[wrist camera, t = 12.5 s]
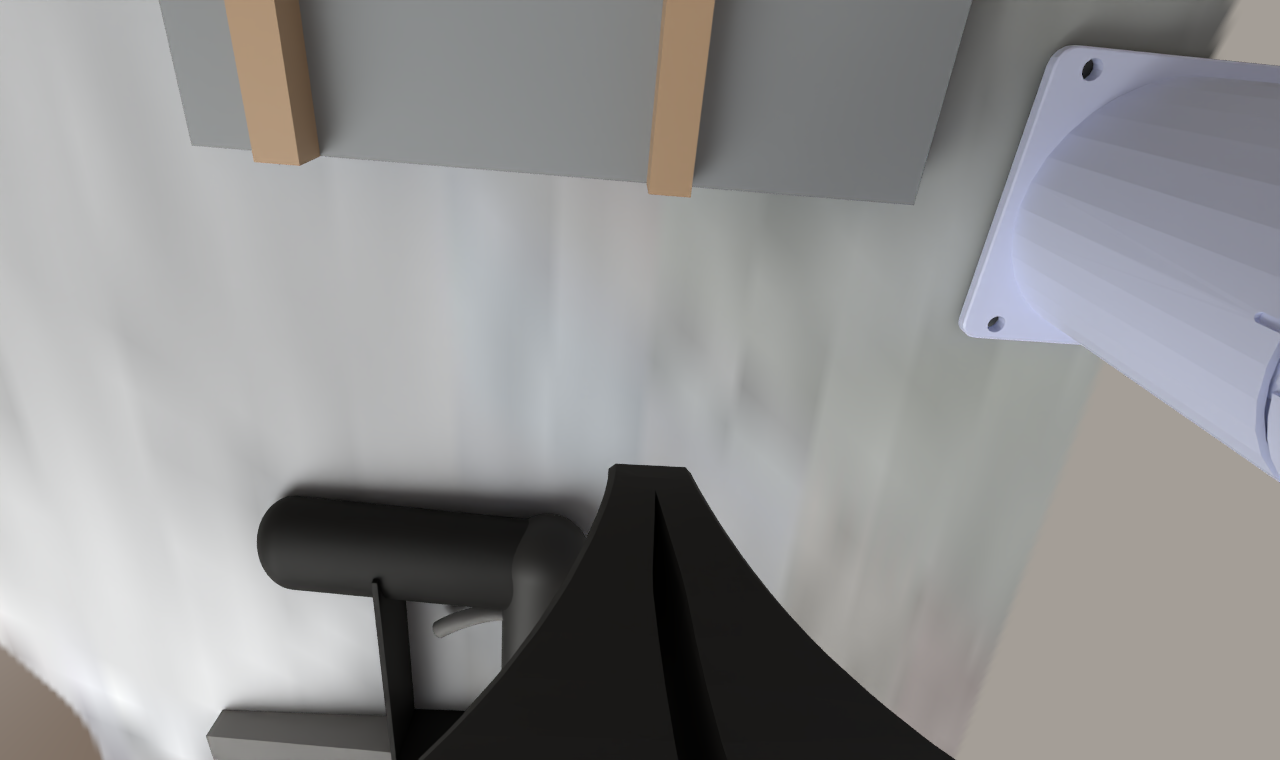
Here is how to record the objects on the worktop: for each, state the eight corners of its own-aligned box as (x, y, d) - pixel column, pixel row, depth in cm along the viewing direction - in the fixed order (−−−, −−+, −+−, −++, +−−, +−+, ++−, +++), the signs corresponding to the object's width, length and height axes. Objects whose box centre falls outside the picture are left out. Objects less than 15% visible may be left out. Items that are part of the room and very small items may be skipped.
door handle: (228, 854, 30) (580, 883, 30) (109, 512, 20) (622, 563, 21) (266, 780, 33) (586, 808, 33) (178, 452, 23) (626, 498, 24)
